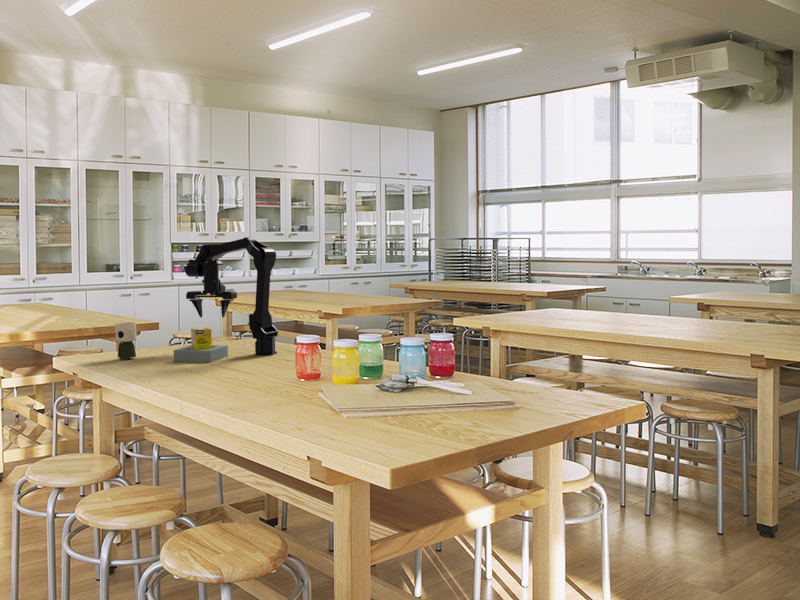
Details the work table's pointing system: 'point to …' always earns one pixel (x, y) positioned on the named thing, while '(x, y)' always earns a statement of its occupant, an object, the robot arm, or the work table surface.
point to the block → (201, 354)
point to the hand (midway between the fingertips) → (212, 317)
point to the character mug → (126, 339)
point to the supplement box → (201, 338)
